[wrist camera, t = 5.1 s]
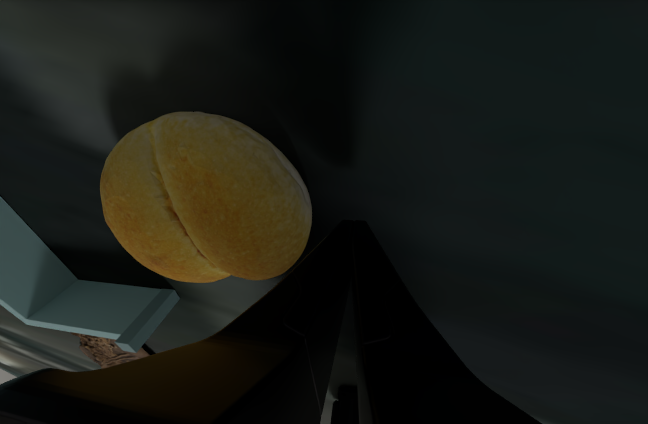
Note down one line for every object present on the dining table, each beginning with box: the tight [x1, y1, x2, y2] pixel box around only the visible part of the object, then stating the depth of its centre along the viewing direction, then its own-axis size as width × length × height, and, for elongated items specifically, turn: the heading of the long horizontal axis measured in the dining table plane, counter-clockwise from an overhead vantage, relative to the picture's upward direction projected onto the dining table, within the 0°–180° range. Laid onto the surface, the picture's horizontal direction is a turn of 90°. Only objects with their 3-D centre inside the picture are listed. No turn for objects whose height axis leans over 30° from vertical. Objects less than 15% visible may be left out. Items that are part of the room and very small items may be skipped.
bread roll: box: [100, 111, 312, 283], centre depth 10 cm, size 8×9×4 cm
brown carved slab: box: [70, 332, 150, 369], centre depth 28 cm, size 26×11×1 cm, turn 168°
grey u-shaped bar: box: [0, 196, 180, 353], centre depth 12 cm, size 10×18×4 cm, turn 5°
